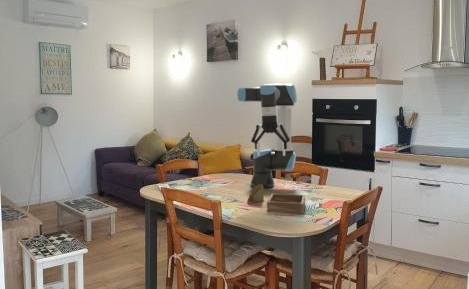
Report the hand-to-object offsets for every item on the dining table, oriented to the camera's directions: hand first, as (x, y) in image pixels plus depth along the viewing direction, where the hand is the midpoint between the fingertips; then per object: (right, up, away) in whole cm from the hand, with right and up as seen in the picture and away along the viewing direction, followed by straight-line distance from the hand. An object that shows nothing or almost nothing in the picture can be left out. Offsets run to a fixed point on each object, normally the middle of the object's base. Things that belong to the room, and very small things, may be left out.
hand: (271, 155), depth 221 cm
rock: (-8, -26, +13) cm, 30 cm away
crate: (+8, -27, 0) cm, 28 cm away
